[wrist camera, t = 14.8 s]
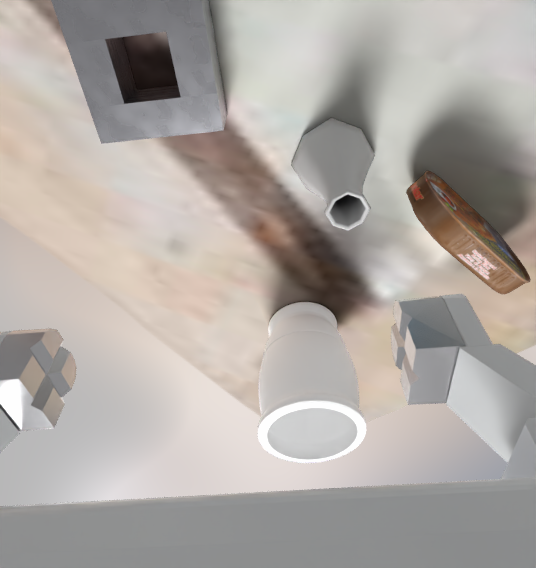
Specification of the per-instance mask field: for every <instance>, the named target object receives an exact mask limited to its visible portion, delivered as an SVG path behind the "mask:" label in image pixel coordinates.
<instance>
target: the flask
mask: <svg viewBox="0 0 536 568" xmlns="http://www.w3.org/2000/svg"><path fill="white" fill-rule="evenodd" d="M374 156H375V155H374V153H373V151H372V149H371V147H370V145H369V143H368V141H367V139H366V137H365V136H364V134H363V132H362V130H361V129H360V128H357V127H355V126H352V125H349V124H347V123H344V122H341V121H339V120H336V119H333V118H330V119H329V120H327V121H325V122H324V123H322V124H321V125H319V126H318V127H316V128H315V129H313V130H311V131H310V132H308V133H307V134H305V135H304V136H303V137H302V139H301V142H300V144H299V147H298V149H297V152H296V154H295V157H294V159H293V161H292V164H291V166H292V167H293V169H294V170H295V172H296V173H297V175H298V176H299V178H300V179H301V181H302V182H303V184H304V185H305V187H306V188H307V189H308V190H309V191H311V192H313V193H314V194H316V195H318V196H319V197H320V198H322V199H323V200H324V201H326V202H327V208H326V210H325V214H326V216H327V217H328V219H329V220H330V222H331V223H332V225H333V226H335V227H338V228H341V229H344V230H347V231H348V230H350V229H352V228H354V227H356V226H358V225H360V224H362V223H363V222H364V220H365V218H366V217H367V215H368V213H369V211H370V209H371V207H370V206H369V204H368V202H367V200H366V199H365V197H364V195H363V194H362V188H363V183H364V181H365V178H366V175H367V172H368V170H369V168H370V166H371V163H372V161H373V159H374Z"/></svg>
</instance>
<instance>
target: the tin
mask: <svg viewBox="0 0 536 568" xmlns="http://www.w3.org/2000/svg"><path fill="white" fill-rule="evenodd" d="M406 193H407V195H408V198H409V200H410V202H411V205H412V207H413V211H414V213H415V215H416V217H417V218H418V220H419V221H420V222H421V224H422V225H423V226H424V228H425V229H426V230H427V231H428V232H429V234H430V235H431V236H432V237H433V238H434V239H435V240H436V241H437V242H438V243H439V244H440V245H441V246H442V247H443V248H444V249H445V250H446V251H448V252H449V253H450V254H451V255H452V256H453V257H455V258H456V259H457V260H458V261H459V262H460V263H462V264H463V265H464V266H465V267H466V268H468V269H469V270H470V271H471V272H472V273H473V274H475V275H476V276H477V277H478V278H480V279H481V280H482V281H483V282H484V283H486V284H487V285H488V286H489V287H491V288H492V289H493V290H495V291H496V292H498V293H500V294H507V293H509V292H511V291H513V290H515V289H516V288H518V287H520V286H521V285H523V284H525V283H528V282H530V277H529V274H528V273H527V271H526V269H525V267H524V266H523V265H522V263H521V262H520V260H519V259H518V258H517V256H516V255H515V254H514V252H513V251H512V250H511V248H510V247H509V246H508V244H507V243H506V242H505V241H504V239H503V238H502V237H501V236H500V235H499V234H498V233H497V232H496V230H495V229H494V228H493V227H491V226H490V224H489V223H488V222H487V221H485V220H484V219H483V218H482V217H481V216H480V215H479V214H478V213H477V212H476V211H475V210H474V209H473V208H472V207H471V206H470V205H468V204H467V203H466V202H465V201H464V200H463V199H462V198H461V197H460V196H459V195H458V194H457V193H456V192H455V191H454V190H453V189H452V188H450V187H449V186H448V185H447V184H446V183H445V182H444V181H443V180H442V179H441V178H439V177H438V176H437V175H435V174H434V173H432V172H430V171H426V172H425V173H424V175H423V176H421V177H420V178H419V179H418V180H417V181H416V182H415V183H413V184H412V185H411V186H410V187H409V188H408V189H407V191H406Z"/></svg>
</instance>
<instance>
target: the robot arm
mask: <svg viewBox="0 0 536 568" xmlns="http://www.w3.org/2000/svg"><path fill="white" fill-rule="evenodd" d="M393 315H394V318H395V321H396V323H395V324H394V325H393V326H392V329H391V345H392V353H393V357H394V361H395V364H396V366H397V367H398V368H399V369H401V370H402V372H401V384H402V387H403V391H404V394H405V397H406V400H407V403H408V405H411V404H434V403H435V404H436V403H446V405H447V406H448V407H449V408H450V409H451V410H452V411H453V412H454V413H455V414H456V415H457V416H459V417H460V418H461V419H462V420H463V421H464V422H465V423H466V424H467V425H468V426H469V427H470V428H471V429H472V430H473V431H474V432H475V433H477V435H479V436H480V437H481V438H482V439H483V440H484V441H485V442H486V443H487V444H488V445H489V446H490V447H491V448H492V449H493V450H495V452H497V453H498V454H499V455H500V456H501V457H502V458H503V459H504V460H505V461H506V462H507V463H508V464H507V466H506V468H505V470H504V473H503V475H502V477H501V479H494V480H476V481H457V482H439V483H421V484H402V485H384V486H366V487H348V488H329V489H311V490H293V491H276V492H256V493H239V494H220V495H201V496H185V497H184V496H183V497H164V498H146V499H128V500H109V501H91V502H72V503H54V504H35V505H19V506H0V568H536V365H534V364H532V363H531V362H529V361H527V360H526V359H524V358H523V357H521V356H519V355H517V354H516V353H514V352H513V351H511V350H509V349H508V348H506V347H504V346H503V345H501V344H494V345H493V343H492V341H491V340H490V338H489V336H488V334H487V333H486V331H485V329H484V327H483V326H482V324H481V322H480V320H479V319H478V317H477V315H476V313H475V312H474V310H473V308H472V306H471V305H470V303H469V301H468V299H467V298H466V296H465V295H463V294H455V295H445V296H439V297H427V298H416V299H404V300H395V303H394V307H393ZM62 342H63V338H62V337H61V335H60V334H59V332H58V330H55V329H36V330H18V331H9V332H0V453H1V452H2V451H3V450H4V449H5V448H6V447H7V446H8V445H9V444H10V442H12V441H13V440H14V439H15V438H16V437H17V436H18V435H19V434H20V432H19V431H28V430H38V429H49V428H54V427H55V425H56V423H57V420H58V418H59V416H60V414H61V411H62V409H63V407H64V402H63V399H62V397H63V396H64V395H65V394H66V393H67V392H69V391H70V390H71V389H72V386H73V384H74V381H75V377H76V364H75V360H74V358H73V356H72V354H71V353H70V352H69V351H68V350H66V349H64V348H63V347H61V345H62Z"/></svg>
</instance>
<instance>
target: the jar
mask: <svg viewBox="0 0 536 568" xmlns="http://www.w3.org/2000/svg"><path fill="white" fill-rule="evenodd" d="M268 333H269V338H268V340H267V343H266V346H265V350H264V355H263V361H262V364H261V368H260V374H259V386H258V391H259V403H260V410H261V415H262V417H261V419H260V421H259V425H258V440H259V442H260V444H261V446H262V447H263V448H264V449H265V450H266V451H267V452H269V453H270V454H272V455H273V456H275V457H278V458H280V459H283V460H287V461H291V462H299V463H316V462H324V461H328V460H332V459H336V458H339V457H341V456H343V455H345V454H347V453H349V452H351V451H352V450H354V449H355V448H356V447H357V446H358V445H359V444H360V443H361V442H362V440H363V439H364V437H365V434H366V422H365V418H364V415H363V413H362V412H361V410H360V409H359V387H358V380H357V375H356V371H355V368H354V365H353V362H352V359H351V357H350V355H349V352H348V350H347V348H346V345H345V343H344V340H343V338H342V337H341V335H340V333H339V332H338V330H337V321H336V318H335V316H334V315H333V313H332V312H331V311H330V310H329V309H327V308H326V307H324V306H322V305H320V304H317V303H312V302H298V303H294V304H290V305H287V306H285V307H283V308H282V309H280V310H279V311H277V312H276V313H275V314H274V316H273V317H272V318H271V320H270V322H269V326H268Z"/></svg>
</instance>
